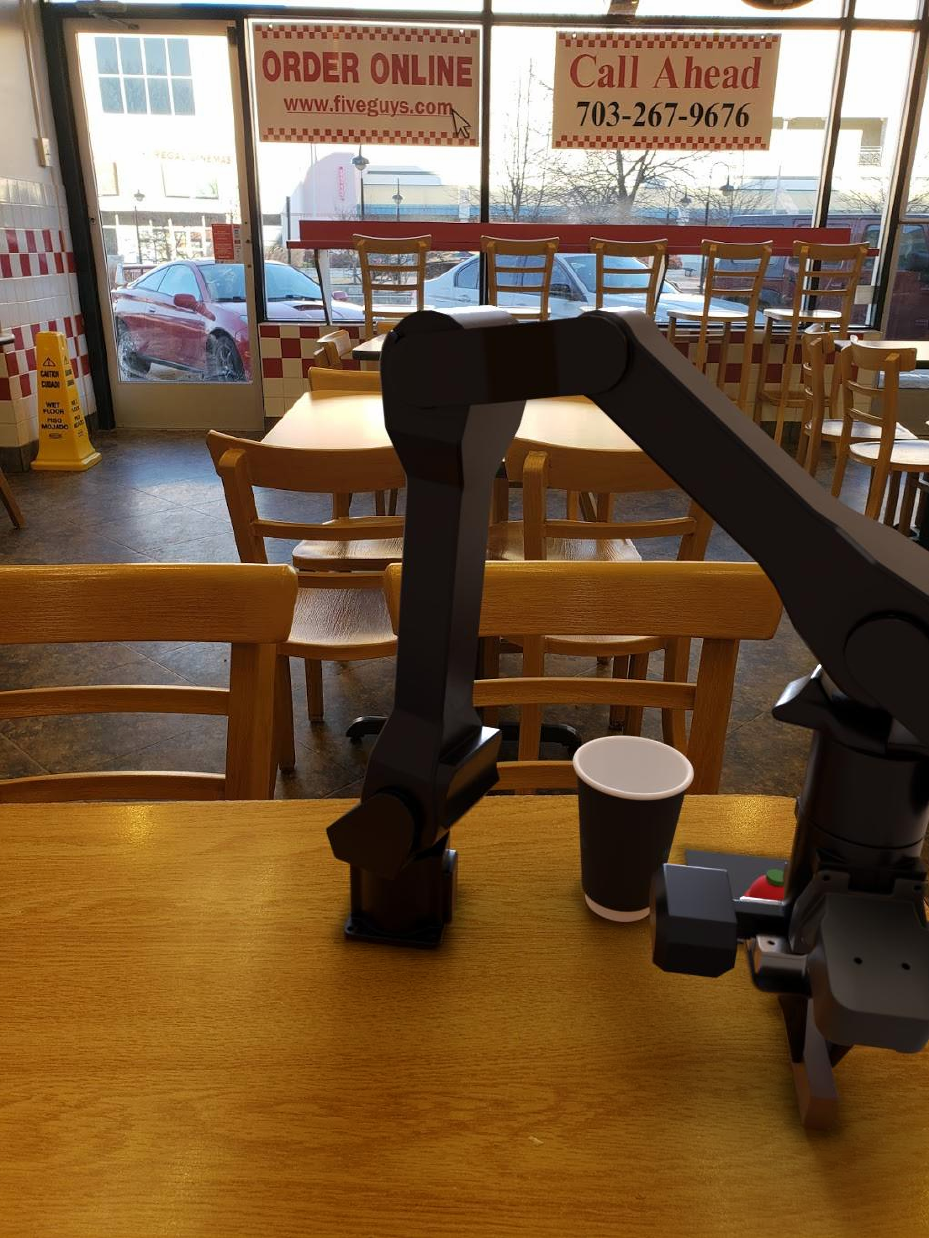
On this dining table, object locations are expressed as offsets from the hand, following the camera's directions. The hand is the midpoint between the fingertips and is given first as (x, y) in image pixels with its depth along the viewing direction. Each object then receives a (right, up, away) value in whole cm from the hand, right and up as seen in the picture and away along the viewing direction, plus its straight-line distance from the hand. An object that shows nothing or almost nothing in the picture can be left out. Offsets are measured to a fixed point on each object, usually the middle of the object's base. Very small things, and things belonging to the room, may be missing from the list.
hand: (810, 1059), depth 51 cm
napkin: (+2, +4, +16) cm, 16 cm away
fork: (+1, 0, +4) cm, 4 cm away
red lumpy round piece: (+2, +3, +13) cm, 14 cm away
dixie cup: (-8, +4, +15) cm, 18 cm away
